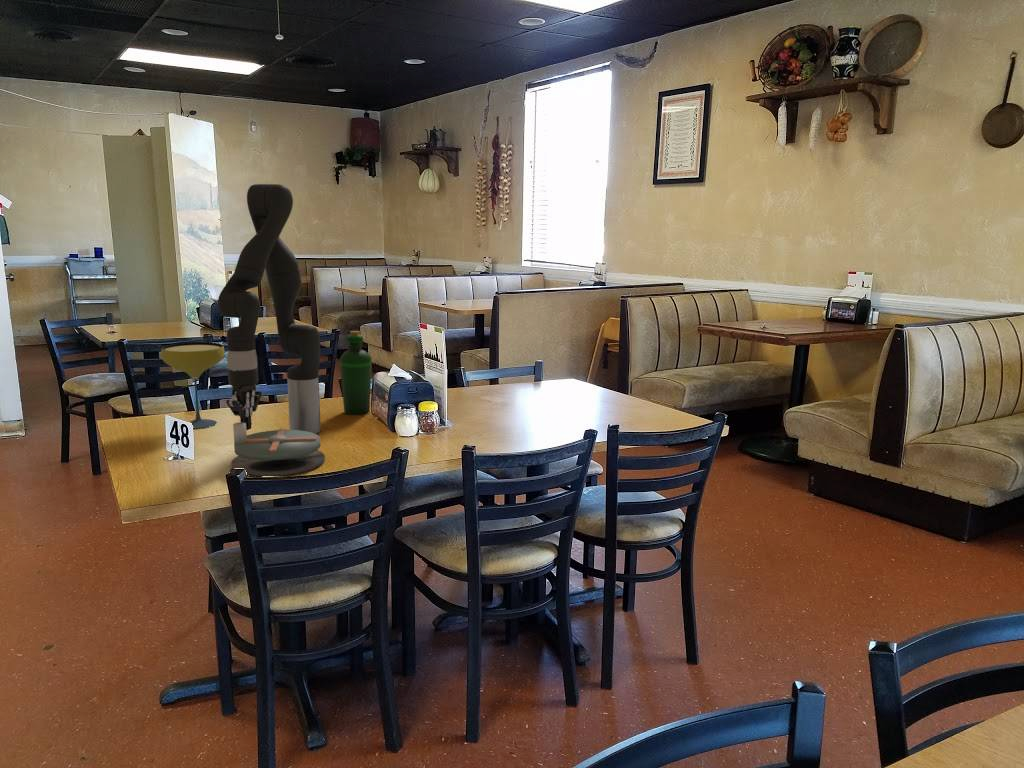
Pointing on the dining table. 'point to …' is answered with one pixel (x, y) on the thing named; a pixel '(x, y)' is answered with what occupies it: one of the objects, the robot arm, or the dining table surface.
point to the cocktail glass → (194, 366)
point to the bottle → (356, 376)
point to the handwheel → (273, 443)
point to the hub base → (280, 465)
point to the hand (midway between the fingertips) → (246, 429)
